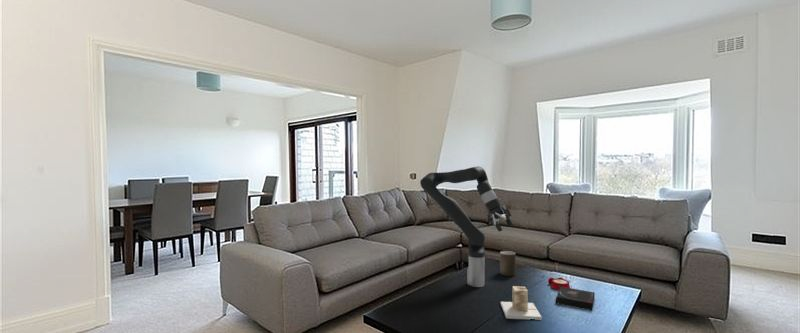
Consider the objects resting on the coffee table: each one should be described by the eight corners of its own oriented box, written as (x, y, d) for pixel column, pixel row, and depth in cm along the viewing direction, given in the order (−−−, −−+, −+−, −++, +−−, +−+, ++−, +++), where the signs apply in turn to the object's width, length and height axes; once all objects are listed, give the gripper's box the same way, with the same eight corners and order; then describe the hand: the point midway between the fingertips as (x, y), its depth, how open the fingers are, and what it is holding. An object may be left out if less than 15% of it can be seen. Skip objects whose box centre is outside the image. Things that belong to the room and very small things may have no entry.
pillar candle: (516, 276, 229) (516, 253, 229) (500, 275, 231) (500, 252, 231) (514, 272, 239) (515, 249, 239) (499, 271, 241) (499, 248, 241)
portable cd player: (559, 293, 203) (559, 286, 203) (594, 299, 194) (594, 292, 194) (555, 304, 189) (555, 296, 189) (592, 311, 180) (592, 303, 180)
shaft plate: (506, 318, 171) (506, 302, 171) (500, 304, 187) (500, 290, 187) (541, 320, 170) (541, 304, 169) (532, 305, 186) (533, 291, 185)
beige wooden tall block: (514, 311, 176) (515, 290, 176) (512, 305, 182) (512, 285, 182) (527, 311, 175) (527, 290, 175) (524, 306, 181) (524, 286, 181)
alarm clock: (556, 285, 204) (545, 271, 218) (555, 295, 206) (544, 280, 220) (575, 285, 204) (562, 271, 219) (573, 295, 206) (561, 280, 221)
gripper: (478, 207, 196) (492, 234, 192) (493, 197, 185) (509, 226, 180) (488, 203, 200) (502, 230, 196) (503, 193, 188) (519, 222, 184)
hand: (505, 228), depth 188 cm, fingers open, 8 cm apart
